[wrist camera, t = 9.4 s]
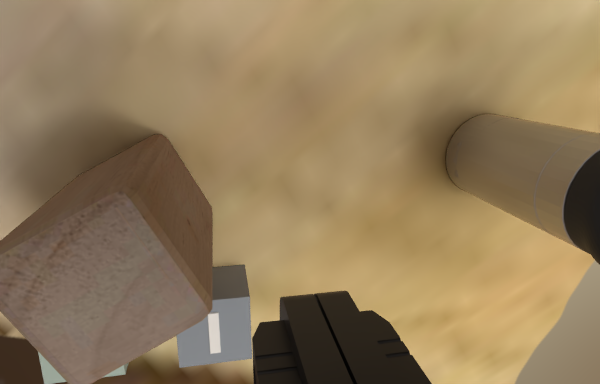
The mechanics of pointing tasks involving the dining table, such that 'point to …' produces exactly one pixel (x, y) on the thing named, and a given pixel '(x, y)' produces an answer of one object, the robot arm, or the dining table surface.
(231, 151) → the dining table surface
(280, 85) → the dining table surface
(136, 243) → the wooden block
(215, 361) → the slate numbered cube
